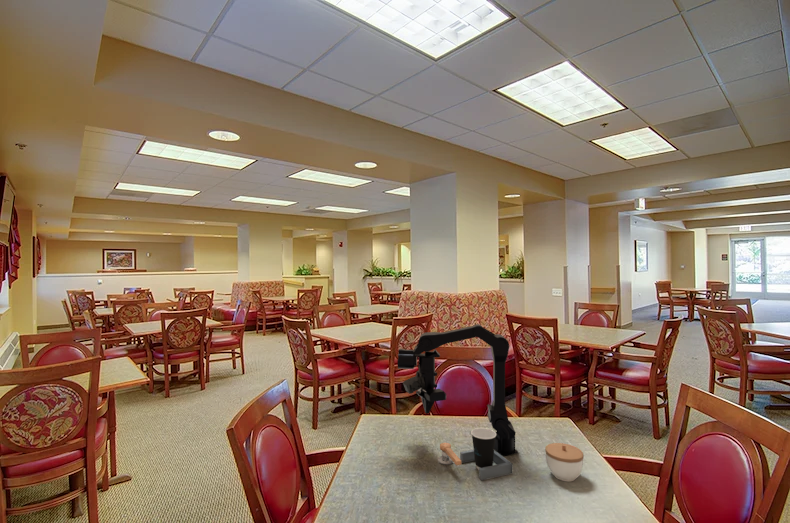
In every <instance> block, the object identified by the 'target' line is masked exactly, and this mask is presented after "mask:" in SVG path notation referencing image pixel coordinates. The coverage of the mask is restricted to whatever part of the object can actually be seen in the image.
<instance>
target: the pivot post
mask: <svg viewBox="0 0 790 523" xmlns="http://www.w3.org/2000/svg"><path fill="white" fill-rule="evenodd" d="M437 462H438V463H439V464H440V465H443V466H444V465H445V466H449V465H452V464H453V463H454V462H453V461H452V459H451V458H450V457H449V456H448V454H447V453H446V452H445V451H442V450H441V456H438V457H437Z"/></svg>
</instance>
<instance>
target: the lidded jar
mask: <svg viewBox="0 0 790 523" xmlns="http://www.w3.org/2000/svg"><path fill="white" fill-rule="evenodd" d="M544 452H545V461H546V465H547V467H548V469H549V471H550V473H551V474H552V475H553V476H554V478H556V479H557V480H559V481H562V482H567V483H568V482H574V481H575V480H576V479H577V478H579V476H580V475H581V473H582V471H583V468H584V452H583V451H582V450H581V449H580V448H578V447H576V446H574V445H572V444H568V443H563V442H551V443H549V444H547V445H546V446H545V449H544Z"/></svg>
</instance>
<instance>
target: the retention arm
mask: <svg viewBox="0 0 790 523" xmlns="http://www.w3.org/2000/svg"><path fill="white" fill-rule="evenodd" d="M439 450H440V451H441V452H442V451H445V452H446V453H447V454H448V456H449V457H450V458H451V459H452V461H453V463H454V465H455V466H462V462H461V460H460V457H459V456H458V455H457V454H456V453H455V452H454V450H453V449H452V445H451V443H448V442H441V443H440V444H439Z"/></svg>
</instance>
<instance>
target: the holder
mask: <svg viewBox="0 0 790 523" xmlns="http://www.w3.org/2000/svg"><path fill="white" fill-rule="evenodd" d="M459 453H460V454H459V455H460V457H459V459H460V460H461V464H462V463H468V462H469V463H470V462H475V457H474V448H473V449H469V450H468V449H467V450H463V451H460V452H459ZM493 463H494V464H493V466H488V467H483V468H479V470H478V479H479V480H480V481H485V480H489V479H493V478H498V477H502V476H507V475H513V463H512V462H511V461H510V460H508V459H507V458H506V457H505V456H502V455H500V454H499V453H498V452H496V451H495V450H494V457H493Z"/></svg>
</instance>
